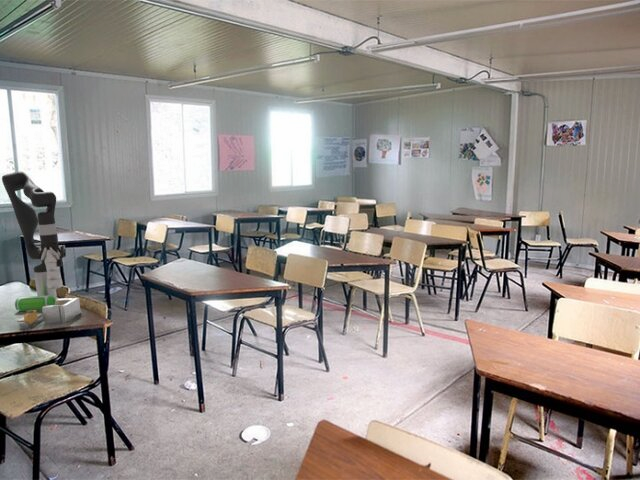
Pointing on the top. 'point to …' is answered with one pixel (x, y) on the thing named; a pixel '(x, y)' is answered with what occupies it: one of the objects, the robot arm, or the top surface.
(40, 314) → the mat
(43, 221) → the robot arm
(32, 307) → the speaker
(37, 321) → the small white box
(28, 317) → the orange rounded block
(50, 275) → the plastic bottle
